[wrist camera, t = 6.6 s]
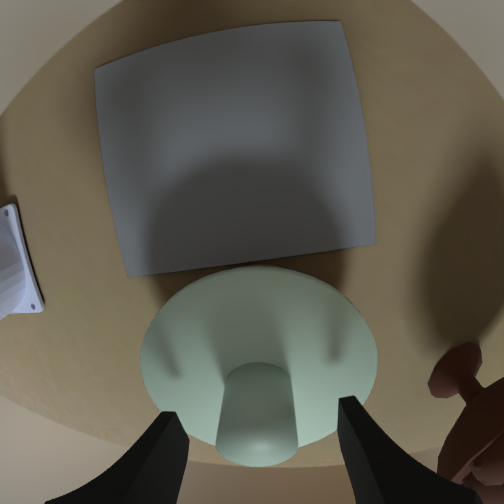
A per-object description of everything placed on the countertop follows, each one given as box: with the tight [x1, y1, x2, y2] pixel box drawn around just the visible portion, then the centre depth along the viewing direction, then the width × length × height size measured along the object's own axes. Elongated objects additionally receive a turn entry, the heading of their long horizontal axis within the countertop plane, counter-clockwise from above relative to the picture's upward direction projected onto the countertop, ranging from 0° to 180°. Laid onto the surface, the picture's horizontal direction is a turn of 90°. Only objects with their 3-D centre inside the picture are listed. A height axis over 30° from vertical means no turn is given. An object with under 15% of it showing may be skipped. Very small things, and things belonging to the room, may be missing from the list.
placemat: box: [94, 21, 376, 278], centre depth 14 cm, size 14×13×1 cm
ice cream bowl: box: [428, 342, 504, 504], centre depth 11 cm, size 11×11×15 cm
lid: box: [140, 266, 378, 467], centre depth 11 cm, size 11×11×4 cm
